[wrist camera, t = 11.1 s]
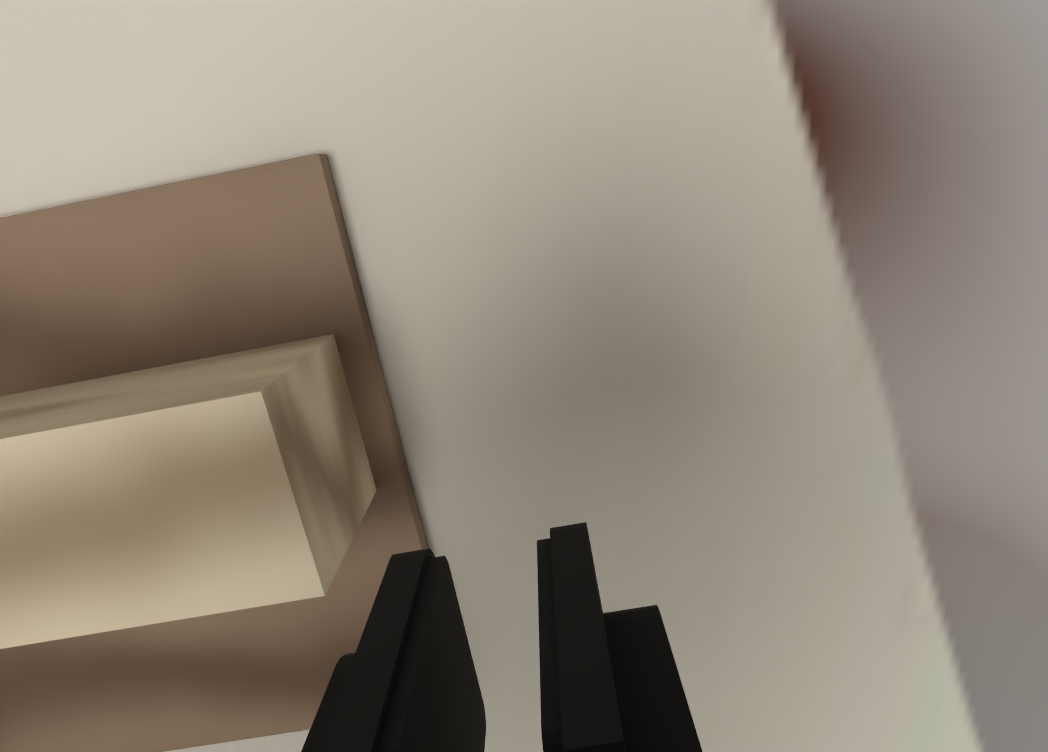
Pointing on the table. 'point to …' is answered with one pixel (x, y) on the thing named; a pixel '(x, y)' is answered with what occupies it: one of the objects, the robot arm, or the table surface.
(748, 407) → the table surface
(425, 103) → the table surface
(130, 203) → the board
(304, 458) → the beige wooden brick
